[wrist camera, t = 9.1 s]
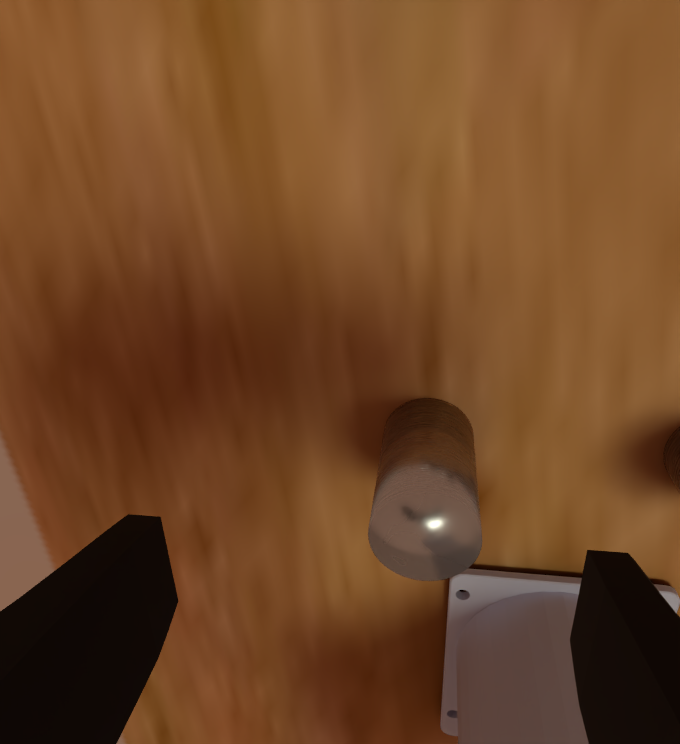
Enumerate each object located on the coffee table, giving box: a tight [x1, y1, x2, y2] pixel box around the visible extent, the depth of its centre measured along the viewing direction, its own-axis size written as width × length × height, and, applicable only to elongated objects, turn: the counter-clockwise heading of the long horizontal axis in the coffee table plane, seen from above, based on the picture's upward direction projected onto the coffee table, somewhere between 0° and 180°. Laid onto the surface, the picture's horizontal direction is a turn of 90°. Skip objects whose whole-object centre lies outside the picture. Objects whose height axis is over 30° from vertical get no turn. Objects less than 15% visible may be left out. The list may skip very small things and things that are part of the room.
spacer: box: [368, 398, 482, 581], centre depth 18 cm, size 3×3×5 cm
